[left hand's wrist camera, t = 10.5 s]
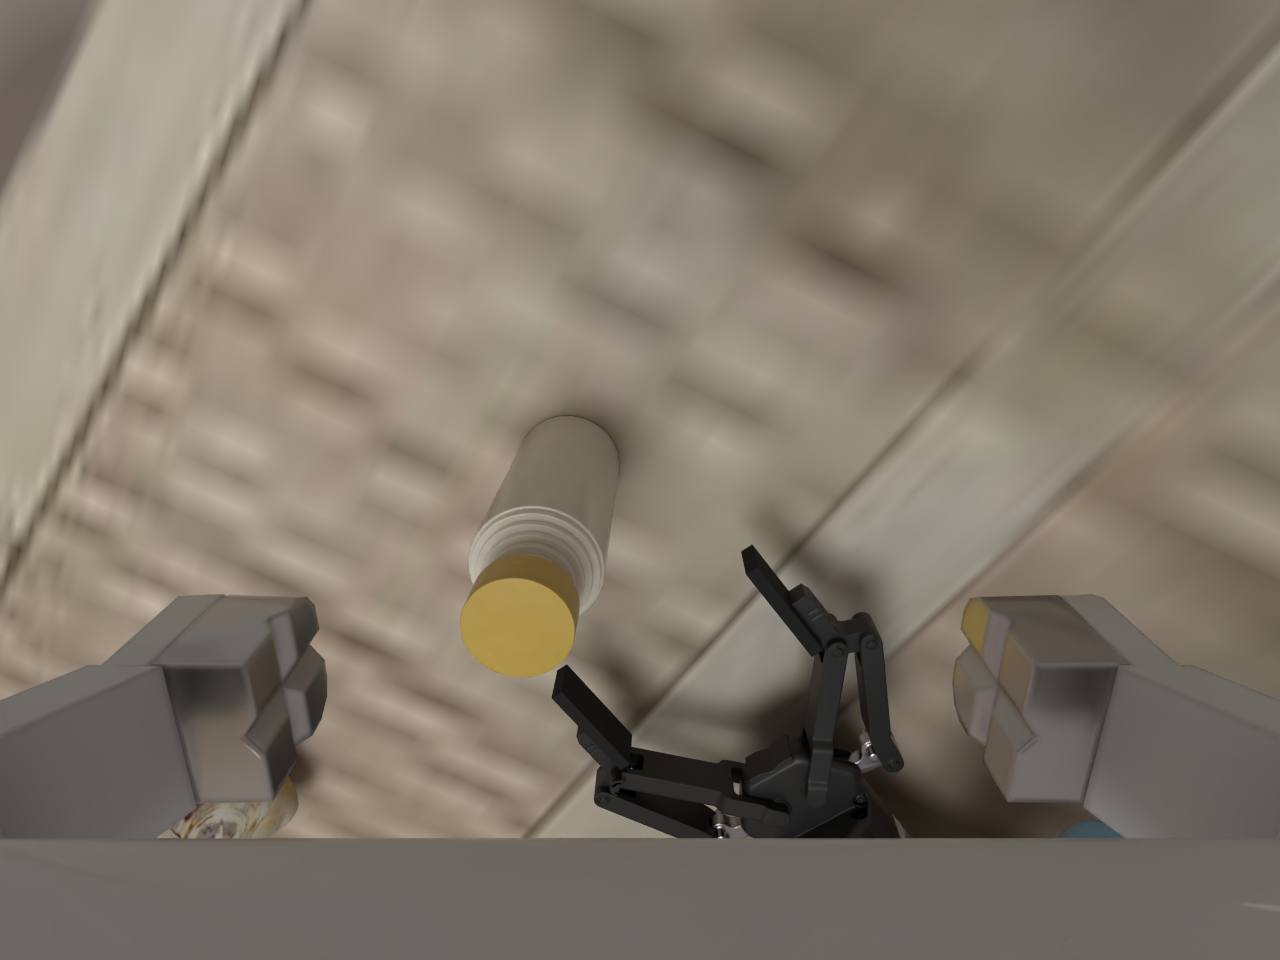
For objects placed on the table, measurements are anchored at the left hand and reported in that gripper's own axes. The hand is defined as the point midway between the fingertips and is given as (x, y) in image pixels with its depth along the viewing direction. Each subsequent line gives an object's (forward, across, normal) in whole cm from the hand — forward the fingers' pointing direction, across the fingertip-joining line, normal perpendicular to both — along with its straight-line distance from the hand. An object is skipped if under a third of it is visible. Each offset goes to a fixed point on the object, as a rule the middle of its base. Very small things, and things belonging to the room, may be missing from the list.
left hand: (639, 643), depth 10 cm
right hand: (+31, -1, +18) cm, 36 cm away
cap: (+19, +5, +11) cm, 22 cm away
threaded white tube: (+37, +4, +11) cm, 39 cm away
